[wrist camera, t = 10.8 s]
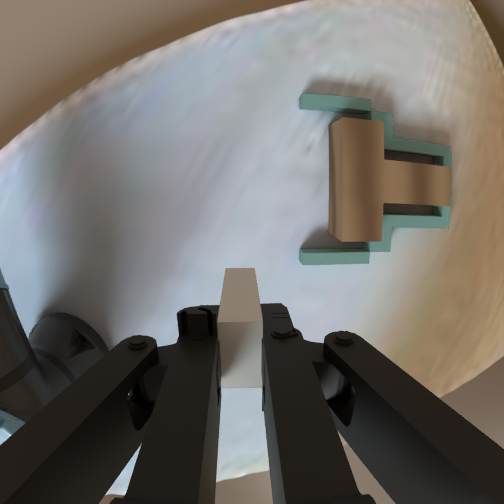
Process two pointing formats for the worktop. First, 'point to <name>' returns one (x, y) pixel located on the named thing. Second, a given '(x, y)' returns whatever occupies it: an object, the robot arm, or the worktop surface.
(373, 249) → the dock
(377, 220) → the t block
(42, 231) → the worktop surface
